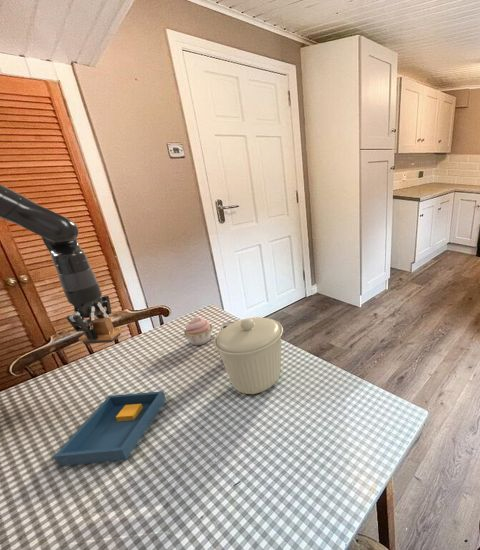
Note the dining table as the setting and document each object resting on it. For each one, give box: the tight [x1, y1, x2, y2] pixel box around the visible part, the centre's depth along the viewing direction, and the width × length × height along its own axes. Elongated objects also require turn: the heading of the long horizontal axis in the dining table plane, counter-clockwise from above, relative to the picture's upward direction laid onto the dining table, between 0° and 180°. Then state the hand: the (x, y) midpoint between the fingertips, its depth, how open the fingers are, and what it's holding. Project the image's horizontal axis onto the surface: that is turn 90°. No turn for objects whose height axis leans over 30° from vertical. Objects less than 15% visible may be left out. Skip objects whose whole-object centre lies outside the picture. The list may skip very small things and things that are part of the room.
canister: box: [213, 316, 284, 395], centre depth 86 cm, size 18×18×21 cm
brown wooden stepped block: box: [77, 317, 123, 345], centre depth 93 cm, size 9×5×7 cm, turn 96°
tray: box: [53, 390, 167, 468], centre depth 74 cm, size 14×18×4 cm
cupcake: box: [183, 316, 213, 346], centre depth 108 cm, size 9×9×10 cm
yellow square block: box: [116, 404, 143, 421], centre depth 78 cm, size 4×4×2 cm
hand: (100, 334), depth 94 cm, fingers closed on brown wooden stepped block, 5 cm apart
